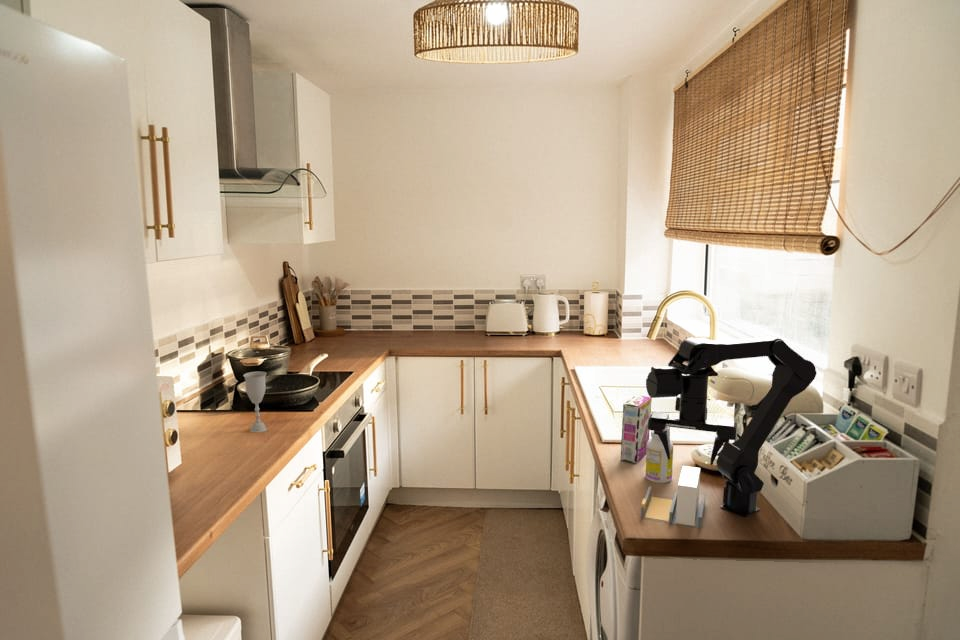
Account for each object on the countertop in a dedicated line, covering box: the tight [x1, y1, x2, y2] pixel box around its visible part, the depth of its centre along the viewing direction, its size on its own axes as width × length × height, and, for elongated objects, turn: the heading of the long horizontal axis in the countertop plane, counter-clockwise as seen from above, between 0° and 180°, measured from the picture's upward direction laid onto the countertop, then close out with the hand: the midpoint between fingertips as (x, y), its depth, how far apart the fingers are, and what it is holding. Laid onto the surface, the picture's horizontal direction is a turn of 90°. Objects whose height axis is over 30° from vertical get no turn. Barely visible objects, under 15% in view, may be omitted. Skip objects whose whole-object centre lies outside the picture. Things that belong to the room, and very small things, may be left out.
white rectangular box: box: [676, 465, 701, 527], centre depth 156 cm, size 4×12×9 cm, turn 159°
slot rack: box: [640, 486, 706, 529], centre depth 157 cm, size 13×13×4 cm
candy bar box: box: [620, 394, 653, 464], centre depth 191 cm, size 11×5×16 cm, turn 149°
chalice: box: [242, 370, 268, 434], centre depth 213 cm, size 7×7×18 cm
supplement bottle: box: [645, 430, 674, 484], centre depth 176 cm, size 7×7×13 cm
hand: (690, 461), depth 155 cm, fingers open, 9 cm apart
